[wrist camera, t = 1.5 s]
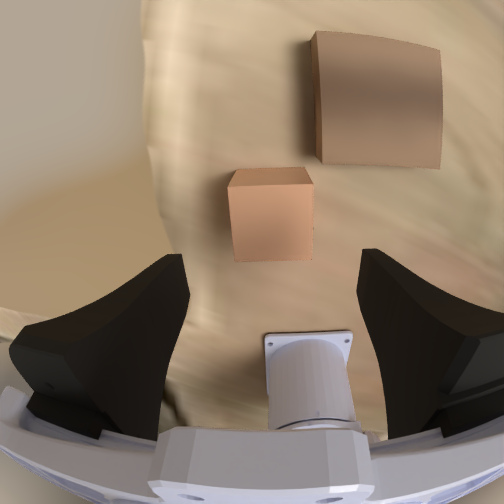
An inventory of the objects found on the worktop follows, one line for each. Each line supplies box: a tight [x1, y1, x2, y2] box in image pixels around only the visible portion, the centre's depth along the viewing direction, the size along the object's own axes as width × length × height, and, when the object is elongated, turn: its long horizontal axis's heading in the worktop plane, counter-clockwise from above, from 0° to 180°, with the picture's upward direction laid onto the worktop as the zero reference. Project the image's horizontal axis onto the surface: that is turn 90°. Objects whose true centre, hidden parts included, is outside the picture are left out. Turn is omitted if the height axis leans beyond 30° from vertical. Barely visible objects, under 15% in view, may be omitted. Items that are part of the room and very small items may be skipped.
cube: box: [227, 167, 313, 262], centre depth 18 cm, size 4×4×4 cm
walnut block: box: [310, 31, 443, 169], centre depth 15 cm, size 8×8×3 cm
